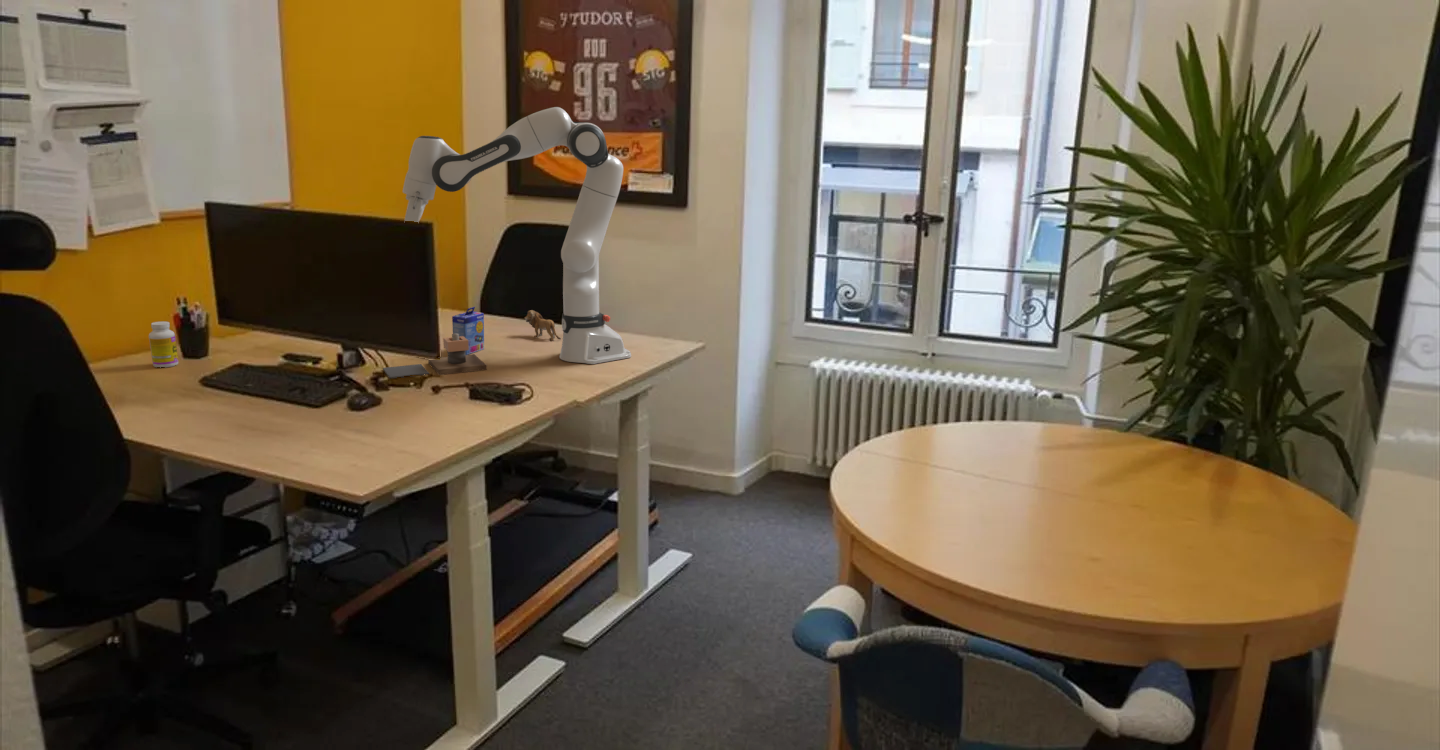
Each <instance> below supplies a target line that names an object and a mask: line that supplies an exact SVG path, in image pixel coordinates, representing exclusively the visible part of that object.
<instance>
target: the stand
mask: <svg viewBox="0 0 1440 750" xmlns="http://www.w3.org/2000/svg"><path fill="white" fill-rule="evenodd" d="M451 337H452V341H456V340H459V334H457V333H455V334H453V333H452V334H451ZM446 353H447V356H443V357H442V356H441V357H440V358H441V359H440V360H428V359H427V361H428V365H429V364H430V365H431V366H432V367H431V366H430V367H431V368H432V369H433V370H434V371H435V372H436V374H437V375H439V376H441V375H449V374H450V375H451V374H456V373H457V374H459V373H466V372H467V373H468V372H477V371H485V370H487V363H485V362H484V361H482V360H481V358H480V357H478V356H477V355H476V354H475V353H471V354H468V355H466V354H465V351H455V352H448V351H447V350H446Z"/></svg>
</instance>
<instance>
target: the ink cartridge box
mask: <svg viewBox="0 0 1440 750" xmlns="http://www.w3.org/2000/svg"><path fill="white" fill-rule="evenodd" d="M475 307H476V306H473V307H470V308H467V309H466V311H465V312H463V313H459V314H455V315H453V316H451V317H452V318H451V319H452V321H451V322H452V325H451V326H452V334H455V333H457V334H459V336H464V337H465V338H466V339H467V340H468V345H469V350H465V354H466V355H471V354H475V353H477V352H480V351H483V350H485V320H484V319H485V318H484V317H485V315H484V314H485V313H484V312H480V311H474V310H475Z"/></svg>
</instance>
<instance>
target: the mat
mask: <svg viewBox="0 0 1440 750" xmlns="http://www.w3.org/2000/svg"><path fill="white" fill-rule="evenodd" d="M382 370H383V371H384V373H385V374H386V375H387V377H388V378H389V379H391V378H392V379H398V378H397V377H401V378H405V377H404V376H410V375H420V376H427V375H426V374H429V375H430V373H429V371H428V370H427V369H426V368H425V367H424V366H423V365H422V364H421V363H417V364H408V365H407V364H406V365H400V366H399V365H398V366H388V367H387V366H386V367H383V368H382ZM424 374H425V375H424ZM410 377H411V376H410Z"/></svg>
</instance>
